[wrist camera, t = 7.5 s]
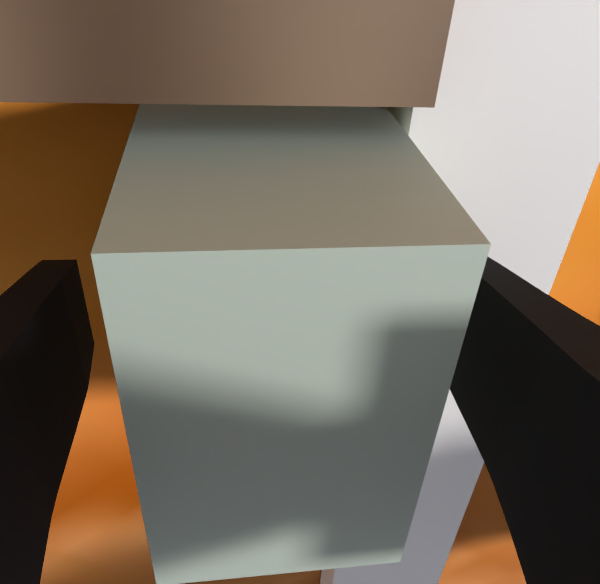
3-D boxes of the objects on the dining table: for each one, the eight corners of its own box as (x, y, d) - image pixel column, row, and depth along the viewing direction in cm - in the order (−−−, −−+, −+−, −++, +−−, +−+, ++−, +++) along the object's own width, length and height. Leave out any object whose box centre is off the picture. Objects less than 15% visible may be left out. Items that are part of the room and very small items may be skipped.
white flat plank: (642, -109, 10) (703, -108, 9) (396, 630, 26) (405, 666, 25) (421, -124, 9) (452, -125, 8) (311, 639, 26) (316, 677, 24)
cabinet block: (373, 90, 11) (491, 243, 7) (341, 350, 15) (399, 561, 11) (145, 87, 11) (90, 253, 6) (175, 358, 15) (156, 585, 10)
